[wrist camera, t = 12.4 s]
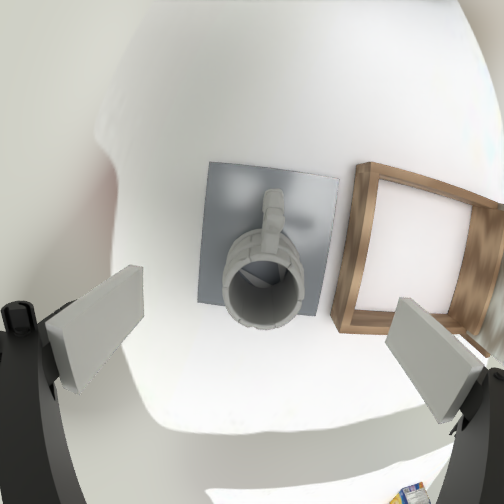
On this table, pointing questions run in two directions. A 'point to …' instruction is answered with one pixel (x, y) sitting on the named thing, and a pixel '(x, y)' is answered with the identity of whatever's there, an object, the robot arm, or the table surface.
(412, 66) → the table surface
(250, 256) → the mug
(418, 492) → the beverage box
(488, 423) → the robot arm
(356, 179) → the box
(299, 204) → the slate mat
